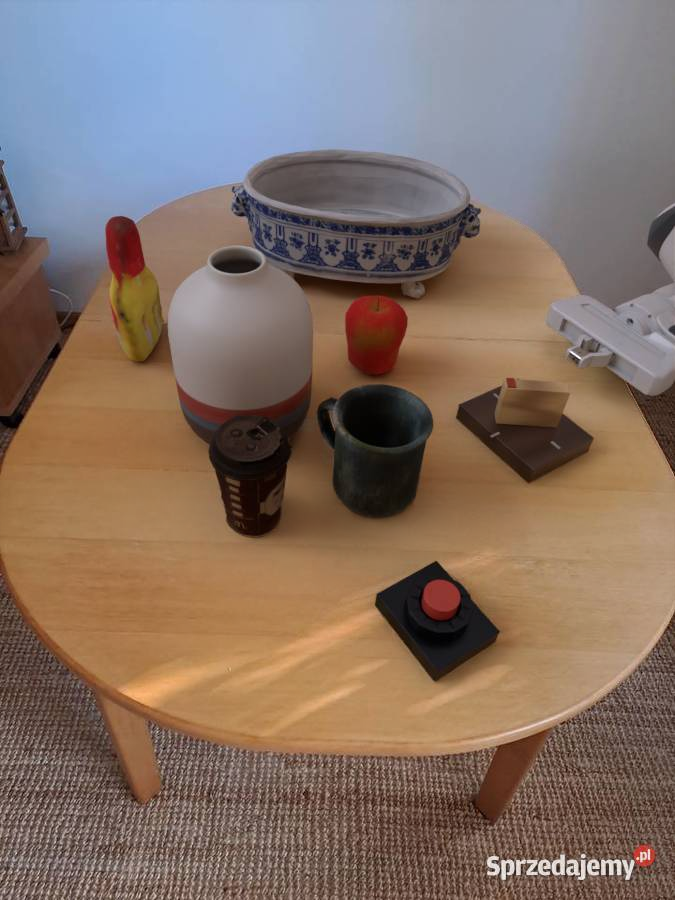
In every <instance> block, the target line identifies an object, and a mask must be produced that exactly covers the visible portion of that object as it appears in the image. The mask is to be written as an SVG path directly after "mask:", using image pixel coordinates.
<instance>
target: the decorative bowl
mask: <svg viewBox="0 0 675 900" xmlns="http://www.w3.org/2000/svg"><path fill="white" fill-rule="evenodd" d="M230 192H232V193H233V194H234V195H233V196H232V197H231V206H230V210H231V212H232V213H233V214H234V216H236V217H238V218H239V217H241V218H244V217H245V218H247V223H248V229H249V231H250V233H251V235H252V246H253V248H255V249H257V250H259V251H260V252H262V253H263V254H264V256H265V258H266V261H267V263H268V264H270V265H273V266H275V267H277V268H279V269H280V270H282V271H283V272H285V273H286V274H288V275H289V276H290V277H291V278H293V279H294V280H295V278H294V276H295V273H296V274H301V275H305V276H312V277H317V278H323V279H327V280H337V281H343V282H355V283H365V284H400V292H401V293H402V294H403V295H404V296H409V297H410V298H413V299H420V298H422V296H424V295H425V292H426V289H425V285H424V284H423V283H422V282H421V281H425V280H428V279H431V278H434V277H435V276H437V275H439V274H441V273H442V272H444V271H445V270H446V269H447V268H448V267H449V265H450V263H451V259H452V256H453V254H454V252H455V250H456V249H457V248H458V246H459V245H460V244H461V242H462V241H461V240H462V239H461V238H462V237H465V238H466V239H472V238H475V237H477V236H478V235H479V234H480V233H481V219H480V218H479V215H480V214H481V213H482V209H481V207H475V206H474V204H472V203H470V201H471V194H470V191H469V189H468V187H467V186H466V184H465V183H464V182H463V181H462V180H461V179H460V178H459V177H458V176H457V175H455V174H453V173H452V172H450V171H448V170H447V169H445V168H442V167H440V166H437V165H435V164H432V163H430V162H427V161H423V160H420V159H418V158H417V159H416V158H413V157H409V156H403V155H396V154H391V153H385V152H378V151H377V152H376V151H365V150H351V149H319V150H318V149H317V150H305V151H295V152H290V153H284V154H283V153H282V154H278V155H274V156H271V157H268V158H266V159H264V160H261V161H259V162H257V163H256V164H254V165H253V166H252V167H251V168H249V170H248V171H247V172H246V174H245V176H244V178H243V182H242V184H241V185H237V186H232V187H231V191H230Z"/></svg>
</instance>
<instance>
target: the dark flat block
mask: <svg viewBox="0 0 675 900" xmlns="http://www.w3.org/2000/svg"><path fill="white" fill-rule="evenodd" d="M517 379H520V378H517ZM501 388H502V385H500V386H498V387H495V388H493V389H491V390H488V391H486V392H484V393H481V394H480V395H476V396H475V397H472V398H470V399H469V400H465V401H464V402H461V403H459V404H458V407H457V412H456V417H455V419H456V420H458V421H459V422H460V423H461V424H462V425H463V426H464V427H465V428H467V430H468V431H470V432H471V434H473V435H474V436H476V438H477V439H479V441H481V442H482V443H483V444H484V445H486V446H487V447H488V448H489V449H490V450H491V451H492V452H493V453H494V454H495V455H496V456H498V457H499V458H500V459H501V460H502V461H503V462H504V463H505V464H506V465H507V466H509V467H510V469H512V470H513V471H514V472H515V473H516V474H517V475H518V476H520V477H521V478H522V479H523V480H524V481H525V482H526V483H527V484H530V483H532V482H534V481H536V480H537V479H539V478H542V477H544V476H545V475H547V474H549V473H551V472H552V471H554V470H556V469H559V468H560V467H562V466H564V465H565V464H568V463H569V462H571V461H573V460H575V459H577V458H578V457H580V456H582V455H584V454H586V453H588V452H589V451H590V449H591V445H593V442H594V439H595V437H594V436H593V435H591V434H590V433H588V431H586V430H584V429H583V428H582V427H581V426H579V425H578V424H577V423H576V422H575V421H574V420H572V419H571V418H570V417H568V416H567V415H566V414H564V413H563V414H562V416H561V419H560V421H559V424H558V427H542V426H527V425H512V424H497V423H496V420H495V414H494V413H495V409H496V406H497V402H498V399H499V395H500V392H501Z"/></svg>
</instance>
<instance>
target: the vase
mask: <svg viewBox="0 0 675 900" xmlns="http://www.w3.org/2000/svg"><path fill="white" fill-rule="evenodd" d="M167 313H168V315H167V334H168V335H167V336H168V343H169V348H170V356H171V360H172V366H173V374H174V377H175V384H176V390H177V395H178V400H179V406H180V408H181V411H182V412H181V413H182V415H183V417H184V419H185V421H186V422H187V425H188V426H189V427H190V429H191V430H192V432H194V434H195V435H196V436H197V437H199V439H201V440H202V441H203V442H205V443H207V444H208V445H210V442H211V439H212V438H213V436H214V435H215V433H216V430H217V429H218V428H219V426H220V425H221V424H222V423H224V422H225V421H226V420H228V419H229V418H231V417H233V416H235V415H244V414H246V415H253V416H267V417H269V419H273V420H275V421H276V422H277V427H279V428H280V431H281V434H283V435H284V436H287V437H288V440H289V439H291V438H292V437H293V436H294V435H295V434H296V433H297V432H298V431H299V430H300V428H301V427H302V426H303V423H304V422H305V420H306V418H307V416H308V413H309V410H310V408H311V407H310V406H311V400H312V391H313V389H312V388H313V362H314V360H313V359H314V357H313V356H314V322H313V321H314V320H313V314H312V309H311V306H310V302H309V301H308V298H307V295H306V294H305V291H304V290H303V289H302V288H301V286H300V284H299V283H298V282H297V281H296V280H295V278H294V279H293V278H291V277H290V276H289V275H288V274H286V273H285V272H283V271H282V270H280V268H278V267H276V266H274V265H271V264H270V263H268V262H267V261H266V258H265V256H264V254H263V253H262V252H260V251H259V250H257V249H255V248H254V247H252V246H248V245H240V244H239V245H237V244H236V245H228V246H224V247H220V248H217V249H216V250H214V251H212V252H211V253H210V254H209V255H208V257H207V260H206V265H204V266H202V267H200V268H199V269H197V270H195V271H194V272H193V273H191V274H190V275H188V276H187V277H186V278H185V279H184V280H183V281H182V282H181V284H179V286H178V288H177V289H176V291H175V292H174V294H173V296H172V299H171V302H170V305H169V309H168V312H167Z"/></svg>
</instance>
